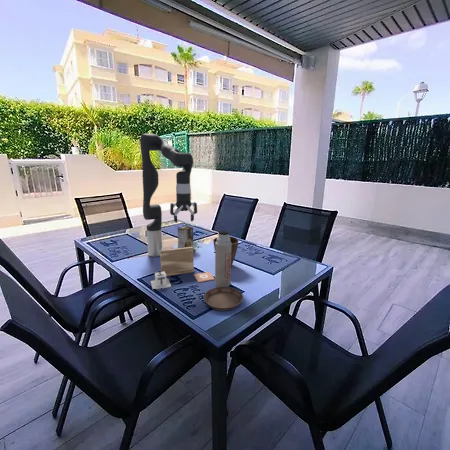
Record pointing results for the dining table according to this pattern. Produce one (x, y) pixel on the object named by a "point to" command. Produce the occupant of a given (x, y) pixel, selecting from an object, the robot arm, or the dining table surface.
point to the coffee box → (185, 237)
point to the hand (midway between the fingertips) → (184, 221)
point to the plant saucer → (223, 298)
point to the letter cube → (160, 278)
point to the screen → (177, 261)
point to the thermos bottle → (223, 260)
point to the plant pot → (233, 247)
